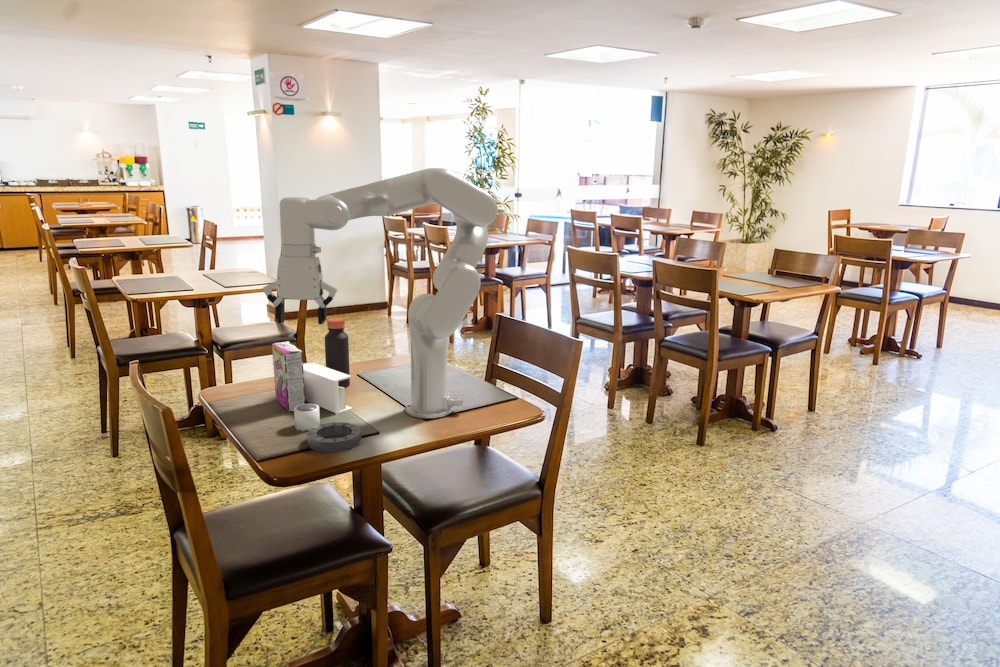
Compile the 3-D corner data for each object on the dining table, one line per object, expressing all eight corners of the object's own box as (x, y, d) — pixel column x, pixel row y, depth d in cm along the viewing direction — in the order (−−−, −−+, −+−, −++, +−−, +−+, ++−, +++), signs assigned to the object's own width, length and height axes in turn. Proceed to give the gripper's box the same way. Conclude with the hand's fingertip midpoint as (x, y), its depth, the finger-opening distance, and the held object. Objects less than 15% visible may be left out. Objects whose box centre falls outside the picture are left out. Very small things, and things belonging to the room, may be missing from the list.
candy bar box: (274, 400, 184) (270, 343, 180) (292, 397, 187) (289, 340, 183) (287, 412, 175) (284, 352, 171) (306, 409, 178) (303, 350, 174)
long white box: (353, 409, 179) (352, 376, 177) (336, 414, 175) (334, 380, 173) (309, 392, 192) (308, 360, 189) (292, 396, 188) (290, 364, 185)
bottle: (338, 390, 193) (335, 323, 188) (321, 386, 197) (318, 320, 192) (354, 384, 199) (352, 319, 194) (338, 380, 202) (336, 316, 197)
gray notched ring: (365, 432, 164) (365, 422, 163) (354, 453, 152) (354, 442, 152) (316, 431, 164) (315, 421, 163) (301, 451, 152) (301, 441, 151)
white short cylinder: (322, 422, 170) (321, 403, 168) (316, 431, 164) (315, 411, 163) (299, 421, 170) (298, 402, 168) (291, 431, 164) (290, 411, 163)
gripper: (339, 250, 160) (341, 320, 164) (266, 248, 160) (270, 318, 164) (331, 254, 152) (333, 327, 156) (255, 252, 152) (259, 325, 156)
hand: (301, 322), depth 160 cm, fingers open, 9 cm apart
